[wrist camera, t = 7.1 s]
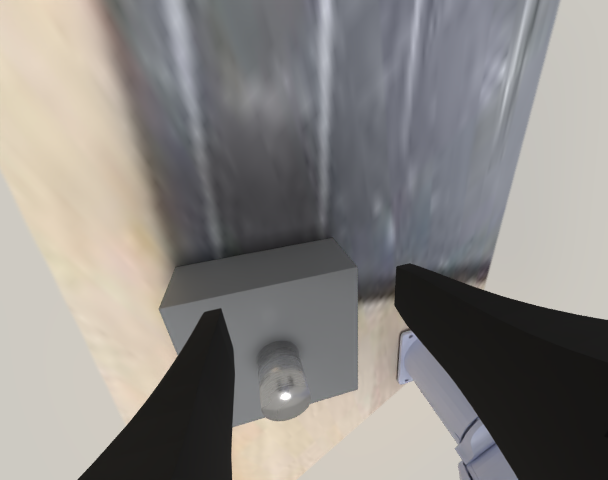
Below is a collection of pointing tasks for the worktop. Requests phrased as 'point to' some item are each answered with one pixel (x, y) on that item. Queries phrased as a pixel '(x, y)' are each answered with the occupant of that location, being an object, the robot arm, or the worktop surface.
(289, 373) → the cover
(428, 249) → the worktop surface
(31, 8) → the worktop surface
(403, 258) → the worktop surface
